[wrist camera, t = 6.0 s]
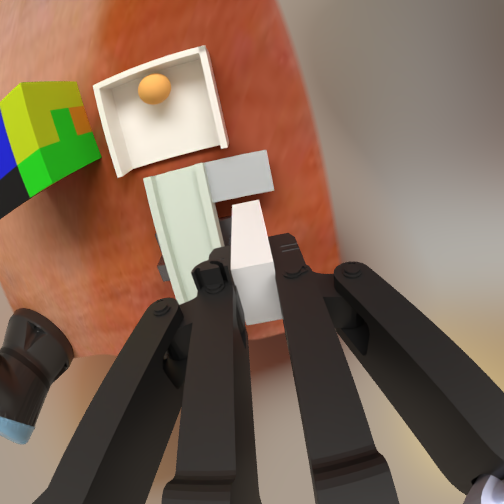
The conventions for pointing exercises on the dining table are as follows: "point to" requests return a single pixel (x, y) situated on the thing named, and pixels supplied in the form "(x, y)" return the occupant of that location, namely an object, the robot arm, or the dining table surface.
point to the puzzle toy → (41, 139)
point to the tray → (162, 111)
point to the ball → (154, 88)
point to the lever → (199, 210)
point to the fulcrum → (226, 234)
